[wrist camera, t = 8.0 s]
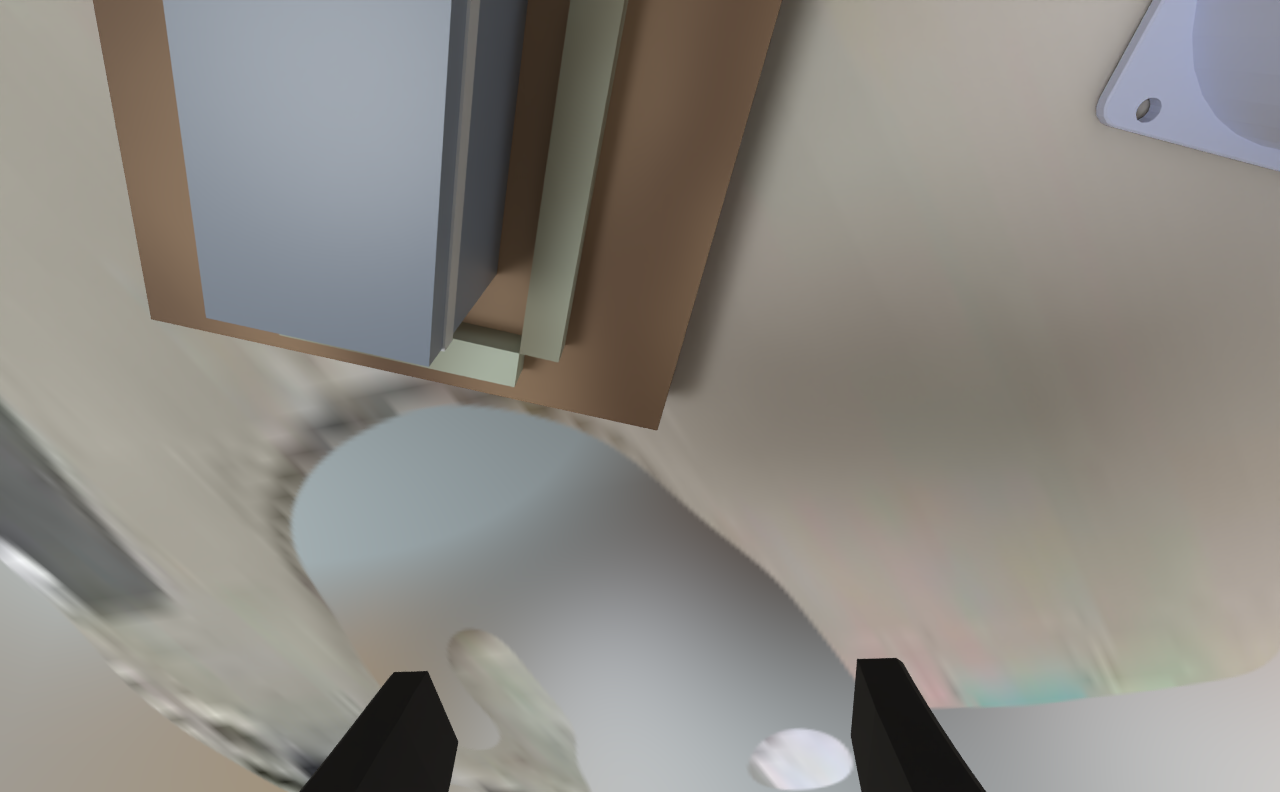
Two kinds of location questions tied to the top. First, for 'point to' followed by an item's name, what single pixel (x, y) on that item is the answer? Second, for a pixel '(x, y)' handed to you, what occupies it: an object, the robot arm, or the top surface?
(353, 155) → the blue-grey lidded box
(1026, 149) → the top surface
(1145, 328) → the top surface
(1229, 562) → the top surface
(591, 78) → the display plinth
